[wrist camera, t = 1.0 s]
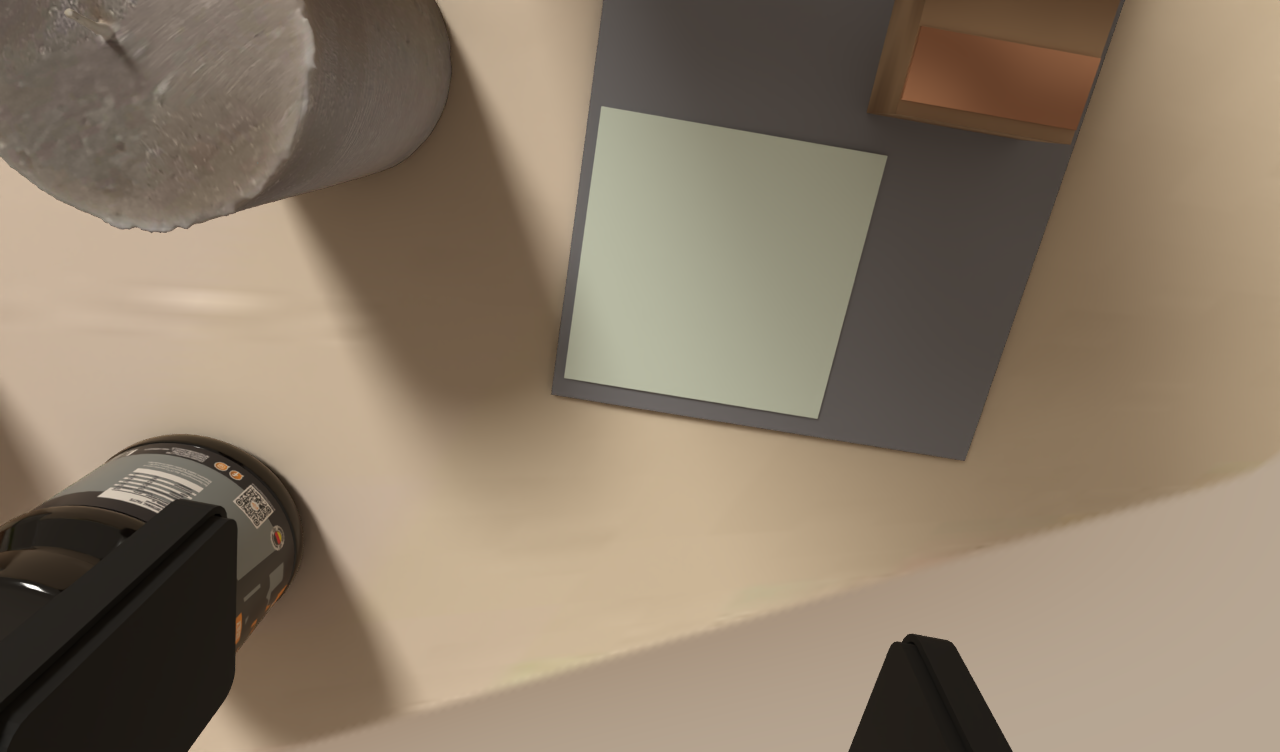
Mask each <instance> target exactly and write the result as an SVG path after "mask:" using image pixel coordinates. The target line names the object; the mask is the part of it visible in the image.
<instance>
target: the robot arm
mask: <svg viewBox="0 0 1280 752" xmlns="http://www.w3.org/2000/svg"><path fill="white" fill-rule="evenodd" d="M237 538H238V528H237V523H236V521H235V520H234V519H230V518H227V513H226V510H225V508H223V507H222V506H219V505H214V504H208V503H203V502H198V501H192V500H187V499H176V500H174V501H173V502H171V503H170V504H168V505H167V506H166V507H165V508H164V509H162V510H161V511H160V512H159V513H158V514H156V515H155V516H154V517H153V518H151V519H150V520H149V521H148V522H147V523H145V524H144V525H143V526H142V527H141V528H139V529H138V530H137V531H136V532H135V533H133V534H132V535H131V536H130V537H128V538H127V539H126V540H125V541H124V542H122V543H121V544H120V545H119V546H118V547H116V548H115V549H114V550H113V551H112V552H110V553H109V554H108V555H107V556H105V557H104V558H103V559H102V560H101V561H99V562H98V563H97V564H96V565H95V566H93V567H92V568H91V569H90V570H89V571H87V572H86V573H85V574H84V575H82V576H81V577H80V578H79V579H78V580H76V581H75V582H74V583H73V584H72V585H70V586H69V587H68V588H67V589H65V590H64V591H62V592H61V593H59V594H58V595H57V596H55V597H54V598H53V599H52V600H50V601H49V602H48V603H47V604H46V605H44V606H43V607H42V608H41V609H40V610H38V611H37V612H36V613H35V614H33V615H32V616H31V617H30V618H29V619H27V620H26V621H25V622H24V623H23V624H21V625H20V626H19V627H18V628H16V629H15V630H14V631H13V632H12V633H10V634H9V635H8V636H7V637H6V638H4V639H3V640H2V641H1V642H0V752H188V750H189V749H190V748H191V746H192V745H193V743H194V742H195V741H196V739H197V738H198V736H199V735H200V734H201V732H202V731H203V730H204V728H205V727H206V725H207V724H208V723H209V721H210V720H211V718H212V717H213V716H214V714H215V713H216V712H217V710H218V709H219V707H220V706H221V705H222V703H223V702H224V700H225V699H226V697H227V695H228V693H229V691H230V689H231V686H232V683H233V679H234V675H235V646H236V592H237ZM849 752H1012V750H1011V748H1010V746H1009V744H1008V742H1007V741H1006V739H1005V737H1004V735H1003V733H1002V731H1001V729H1000V728H999V726H998V724H997V722H996V720H995V718H994V717H993V715H992V713H991V711H990V709H989V707H988V706H987V704H986V702H985V700H984V698H983V696H982V695H981V693H980V691H979V689H978V687H977V685H976V684H975V682H974V680H973V678H972V676H971V675H970V673H969V671H968V669H967V667H966V665H965V664H964V662H963V660H962V658H961V656H960V654H959V653H958V651H957V649H956V647H955V646H954V645H953V643H952V642H950V641H948V640H943V639H937V638H932V637H927V636H922V635H916V634H909V635H907V636H906V637H905V638H904V639H903V641H902V642H894V643H893V644H892V645H891V646H890V648H889V651H888V653H887V656H886V659H885V661H884V663H883V666H882V669H881V671H880V673H879V676H878V678H877V681H876V683H875V686H874V689H873V691H872V693H871V696H870V699H869V701H868V704H867V706H866V709H865V711H864V714H863V716H862V719H861V721H860V724H859V726H858V729H857V732H856V734H855V736H854V739H853V742H852V744H851V747H850V749H849Z"/></svg>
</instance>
